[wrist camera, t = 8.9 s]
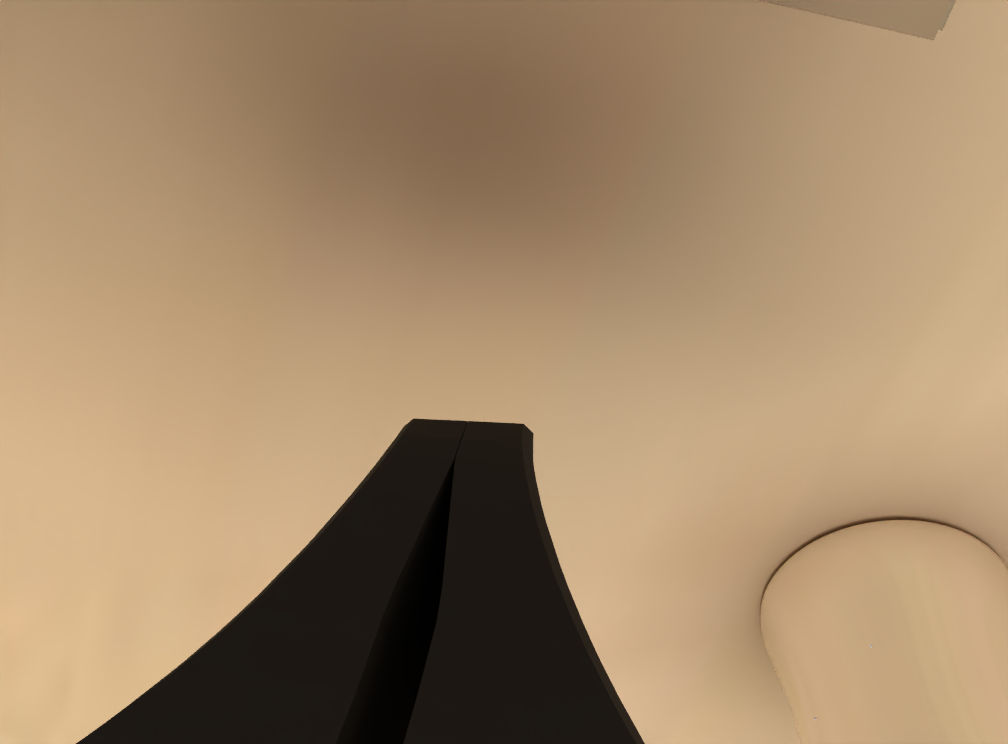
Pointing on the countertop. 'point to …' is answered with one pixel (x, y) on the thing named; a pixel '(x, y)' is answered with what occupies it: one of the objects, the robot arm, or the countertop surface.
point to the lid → (883, 13)
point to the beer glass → (892, 636)
